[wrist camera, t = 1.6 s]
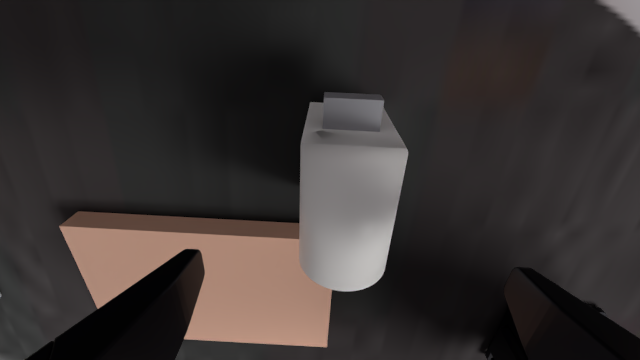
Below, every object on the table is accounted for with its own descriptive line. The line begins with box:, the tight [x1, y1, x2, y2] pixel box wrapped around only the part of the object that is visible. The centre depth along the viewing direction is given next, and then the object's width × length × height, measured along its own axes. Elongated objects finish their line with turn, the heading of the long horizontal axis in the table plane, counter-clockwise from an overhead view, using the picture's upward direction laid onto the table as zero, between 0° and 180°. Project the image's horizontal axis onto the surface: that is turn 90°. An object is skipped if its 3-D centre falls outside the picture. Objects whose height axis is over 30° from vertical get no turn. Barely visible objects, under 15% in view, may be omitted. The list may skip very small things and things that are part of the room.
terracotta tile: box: [59, 211, 332, 347], centre depth 20 cm, size 16×10×2 cm, turn 87°
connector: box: [299, 92, 408, 291], centre depth 13 cm, size 4×6×7 cm, turn 178°
